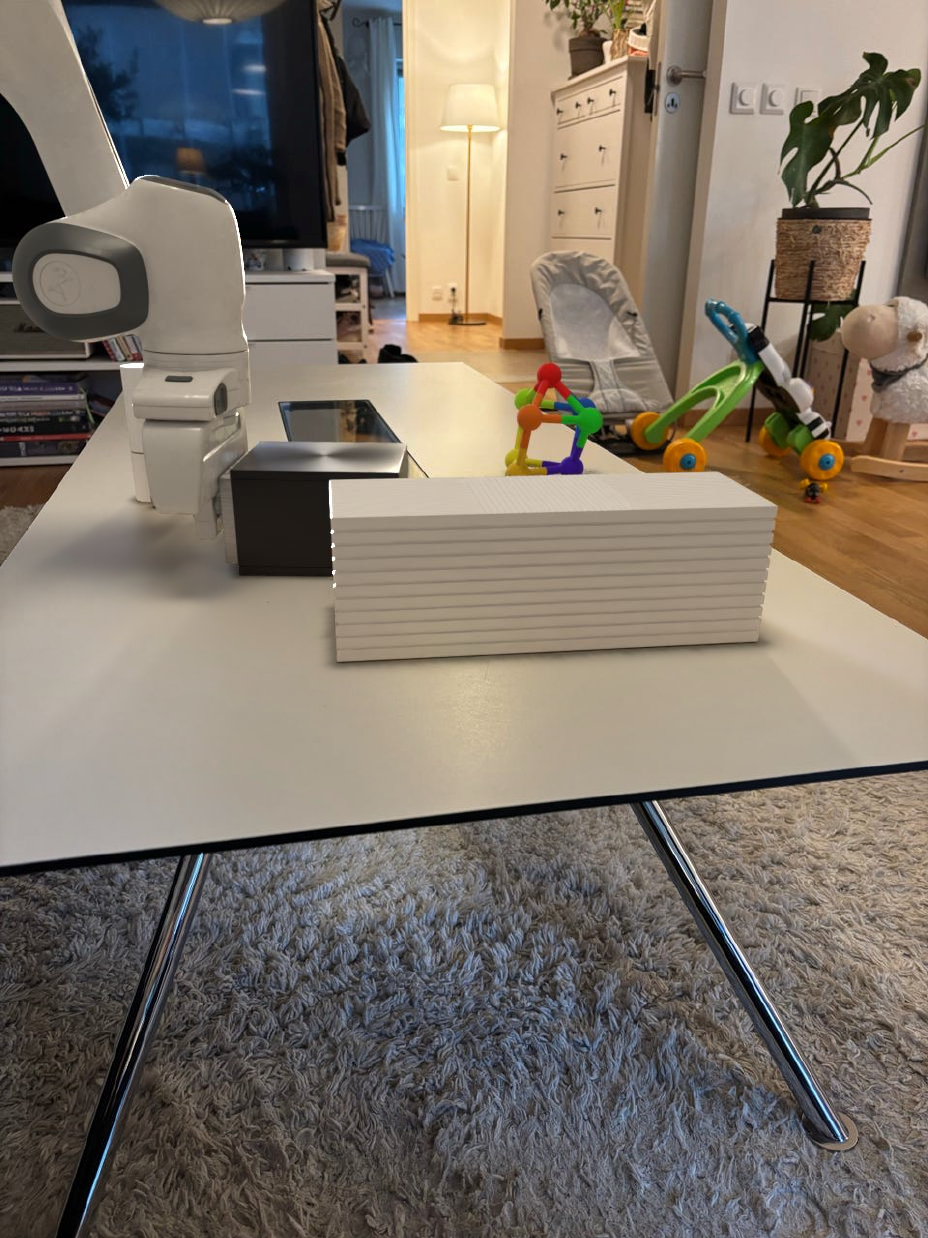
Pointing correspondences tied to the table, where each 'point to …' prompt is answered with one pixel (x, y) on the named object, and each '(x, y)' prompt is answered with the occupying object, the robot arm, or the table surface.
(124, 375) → the tube
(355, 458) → the brushed black cube
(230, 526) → the drawer
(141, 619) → the table surface
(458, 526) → the stack of papers
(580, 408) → the educational toy
